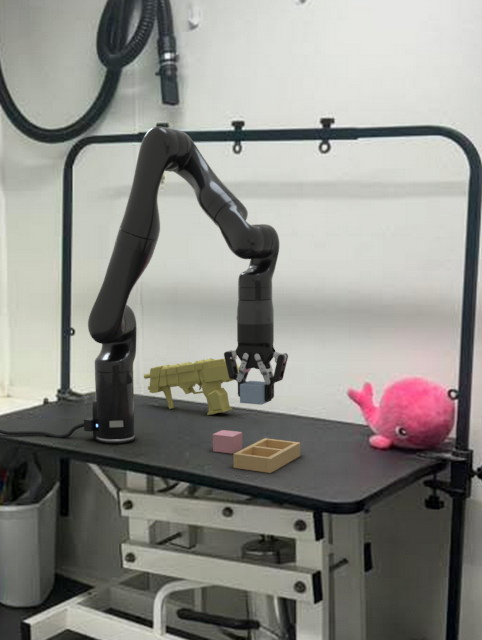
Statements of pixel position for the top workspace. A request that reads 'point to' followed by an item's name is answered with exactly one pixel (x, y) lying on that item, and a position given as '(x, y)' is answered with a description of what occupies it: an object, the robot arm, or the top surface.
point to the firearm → (194, 381)
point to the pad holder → (266, 455)
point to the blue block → (252, 392)
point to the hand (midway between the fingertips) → (255, 399)
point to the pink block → (227, 441)
